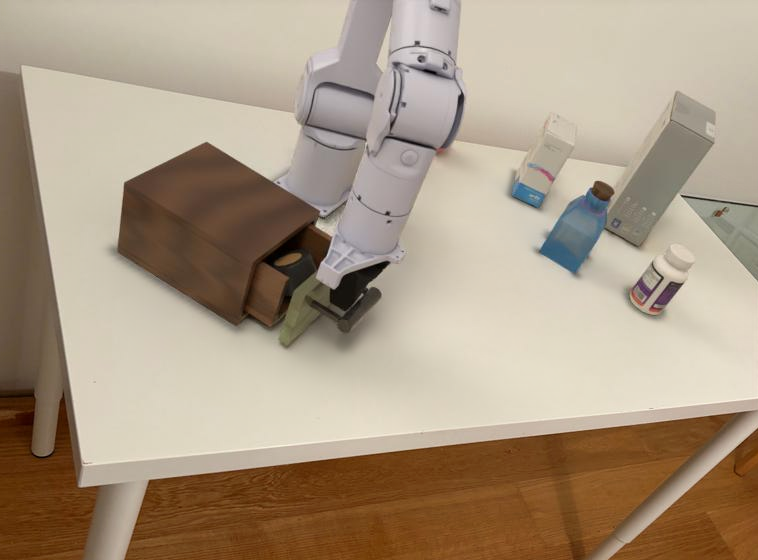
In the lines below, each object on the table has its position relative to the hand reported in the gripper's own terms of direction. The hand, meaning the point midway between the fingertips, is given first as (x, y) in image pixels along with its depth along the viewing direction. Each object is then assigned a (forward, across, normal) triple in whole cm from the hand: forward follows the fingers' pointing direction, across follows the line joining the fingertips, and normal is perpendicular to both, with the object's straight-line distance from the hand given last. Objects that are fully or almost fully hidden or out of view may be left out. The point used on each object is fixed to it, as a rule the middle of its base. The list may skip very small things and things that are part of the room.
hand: (340, 303), depth 74 cm
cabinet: (+4, 0, +15) cm, 15 cm away
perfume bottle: (+5, +41, -17) cm, 45 cm away
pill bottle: (+5, +41, -31) cm, 52 cm away
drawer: (+3, 0, +6) cm, 7 cm away
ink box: (+5, +53, -7) cm, 54 cm away
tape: (+1, 0, +5) cm, 5 cm away
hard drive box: (+5, +63, -23) cm, 67 cm away
